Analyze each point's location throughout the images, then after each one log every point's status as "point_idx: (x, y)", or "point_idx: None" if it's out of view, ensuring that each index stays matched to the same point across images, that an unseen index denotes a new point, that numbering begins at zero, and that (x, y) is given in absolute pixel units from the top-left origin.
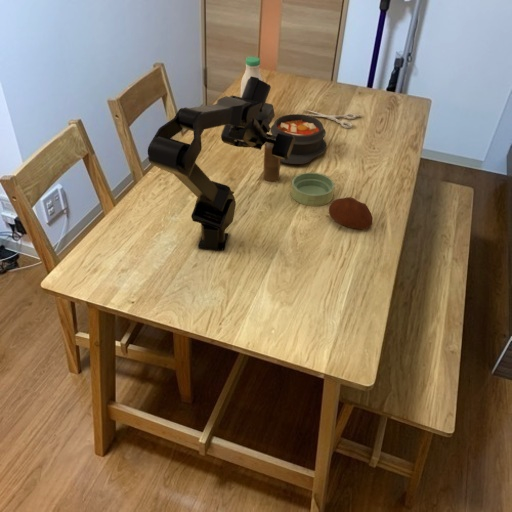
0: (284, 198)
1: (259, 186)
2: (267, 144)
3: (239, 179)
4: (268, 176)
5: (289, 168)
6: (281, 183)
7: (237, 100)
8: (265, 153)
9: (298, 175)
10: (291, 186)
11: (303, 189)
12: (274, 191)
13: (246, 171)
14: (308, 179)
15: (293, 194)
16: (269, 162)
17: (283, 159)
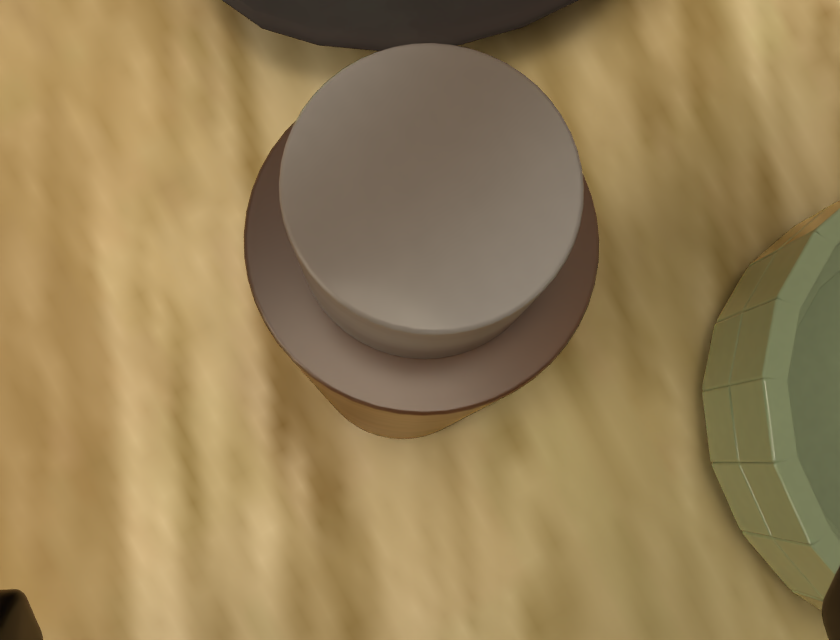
0: (700, 613)
1: (357, 545)
2: (326, 311)
3: (89, 536)
4: (413, 435)
5: None
6: None
7: None
8: (332, 397)
9: (787, 327)
10: (789, 543)
11: (807, 379)
12: (545, 547)
13: (86, 344)
14: (834, 253)
15: None
16: (428, 428)
17: (390, 7)
